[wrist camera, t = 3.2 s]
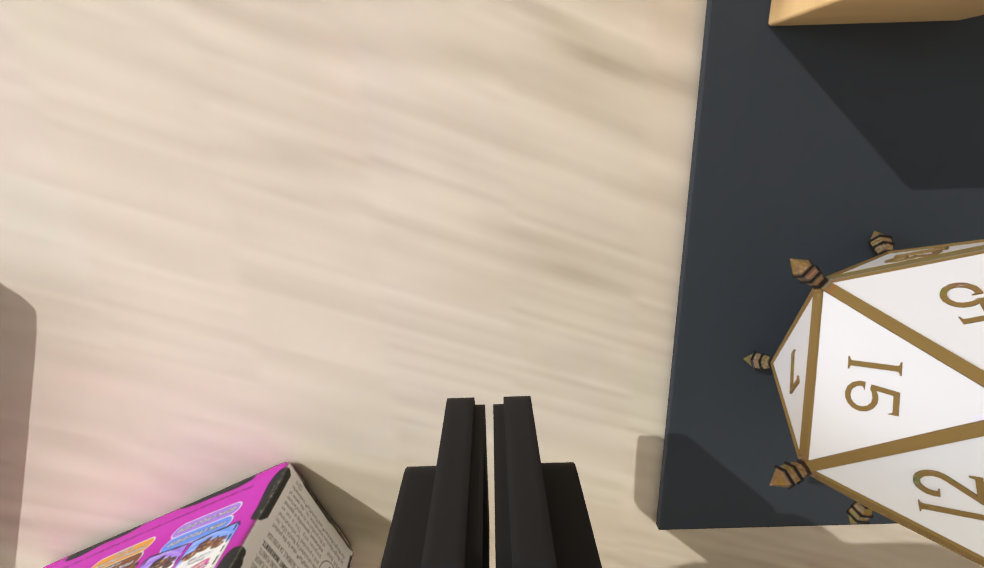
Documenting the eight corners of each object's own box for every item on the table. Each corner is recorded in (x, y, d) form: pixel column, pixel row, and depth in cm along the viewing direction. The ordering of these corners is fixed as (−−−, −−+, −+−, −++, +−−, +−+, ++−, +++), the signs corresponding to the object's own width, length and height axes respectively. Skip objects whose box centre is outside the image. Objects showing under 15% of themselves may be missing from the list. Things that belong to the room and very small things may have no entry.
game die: (815, 250, 18) (1356, 235, 10) (795, 478, 18) (1344, 660, 10) (671, 196, 13) (1521, 75, 5) (639, 512, 13) (1510, 956, 5)
